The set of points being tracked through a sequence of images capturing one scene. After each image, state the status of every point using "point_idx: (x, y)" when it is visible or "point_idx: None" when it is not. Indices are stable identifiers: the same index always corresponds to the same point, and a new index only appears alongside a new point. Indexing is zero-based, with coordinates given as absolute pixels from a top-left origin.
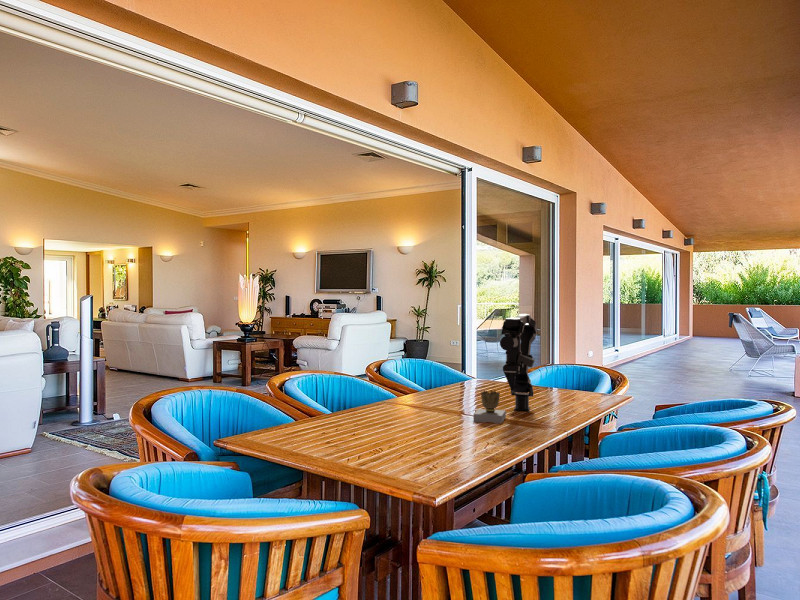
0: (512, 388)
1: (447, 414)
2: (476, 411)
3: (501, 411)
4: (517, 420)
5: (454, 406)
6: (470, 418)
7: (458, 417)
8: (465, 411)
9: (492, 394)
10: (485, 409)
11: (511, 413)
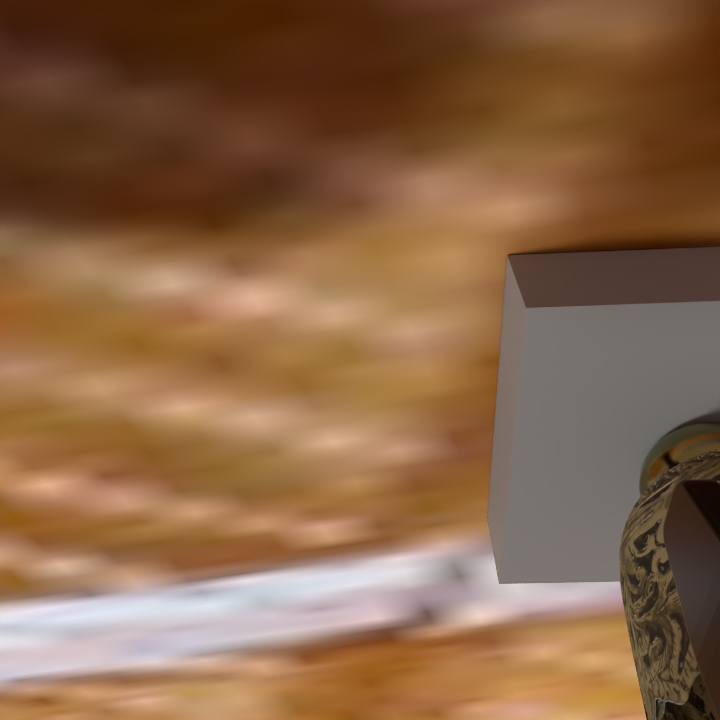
0: (708, 491)
1: (482, 698)
2: None
3: (622, 347)
4: (652, 63)
5: (118, 714)
6: None
7: (591, 628)
8: (293, 630)
9: (654, 658)
10: (519, 525)
11: (155, 233)
